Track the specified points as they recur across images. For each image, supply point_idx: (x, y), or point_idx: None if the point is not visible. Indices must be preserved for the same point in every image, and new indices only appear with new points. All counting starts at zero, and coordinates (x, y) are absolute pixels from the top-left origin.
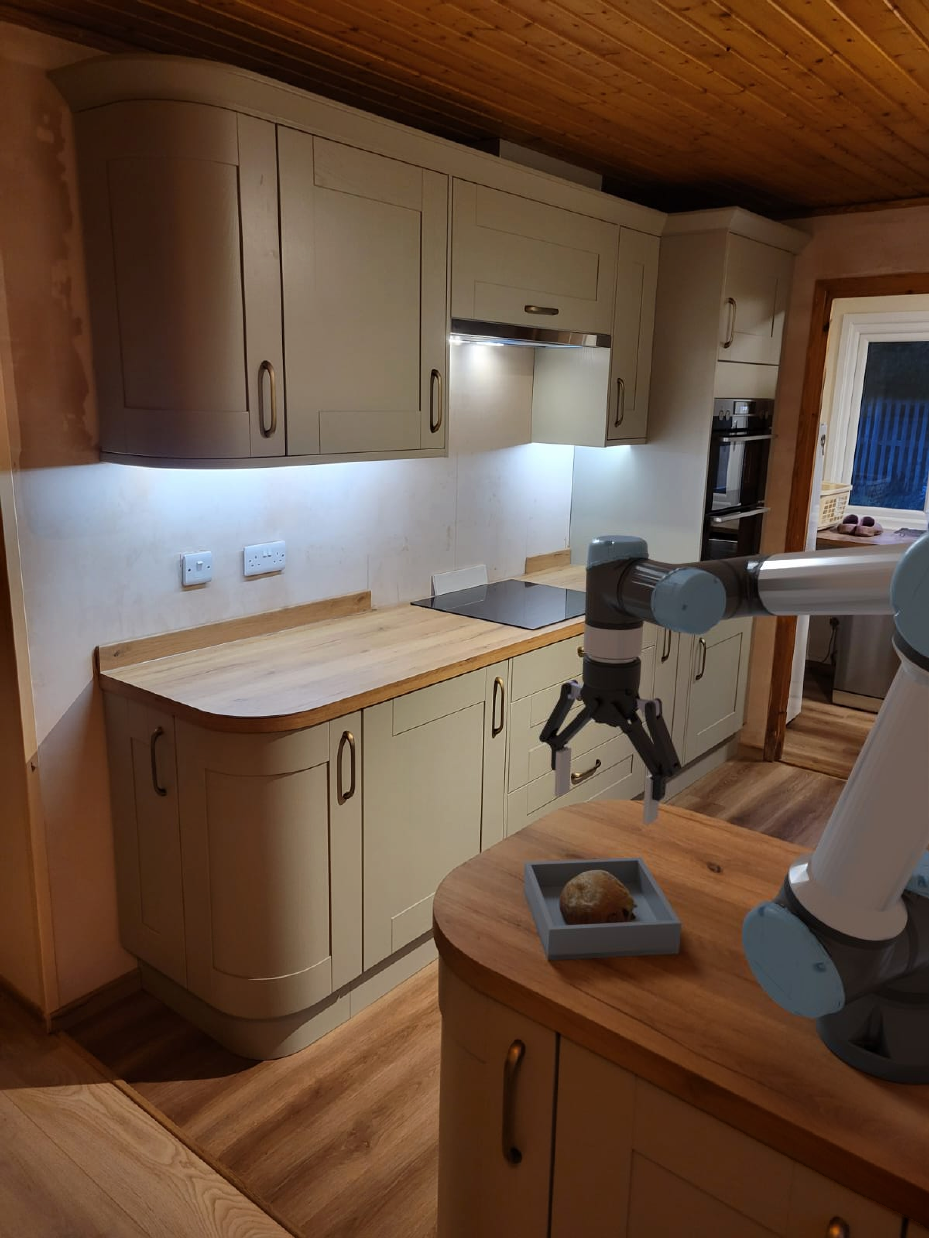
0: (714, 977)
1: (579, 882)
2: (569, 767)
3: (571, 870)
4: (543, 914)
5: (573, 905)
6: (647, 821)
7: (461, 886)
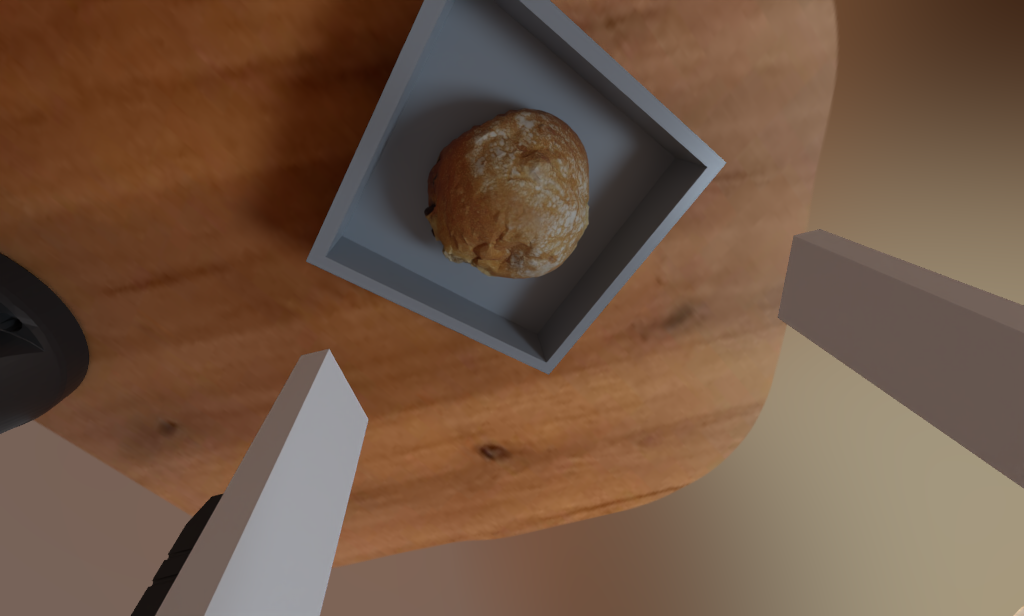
0: (229, 229)
1: (543, 163)
2: (899, 391)
3: (630, 245)
4: None
5: (517, 114)
6: (298, 365)
7: (808, 36)
